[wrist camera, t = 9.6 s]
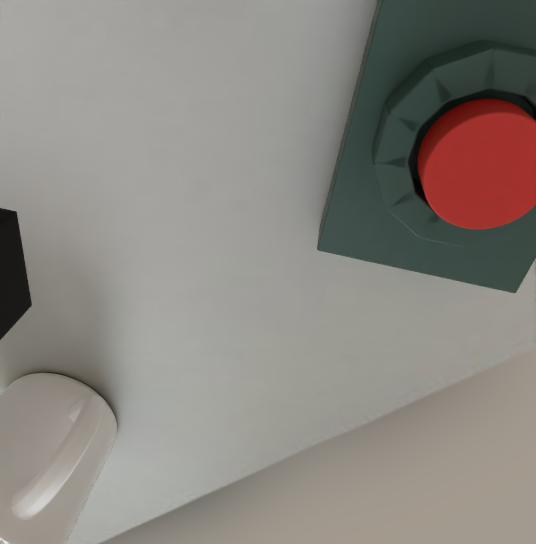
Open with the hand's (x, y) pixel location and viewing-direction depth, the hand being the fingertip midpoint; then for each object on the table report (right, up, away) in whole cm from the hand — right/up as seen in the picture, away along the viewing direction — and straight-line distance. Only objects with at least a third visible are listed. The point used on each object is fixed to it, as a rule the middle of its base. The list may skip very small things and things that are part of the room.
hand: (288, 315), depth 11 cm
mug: (-13, -8, +22) cm, 27 cm away
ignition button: (+7, +5, +6) cm, 10 cm away
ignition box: (+7, +7, +9) cm, 13 cm away
